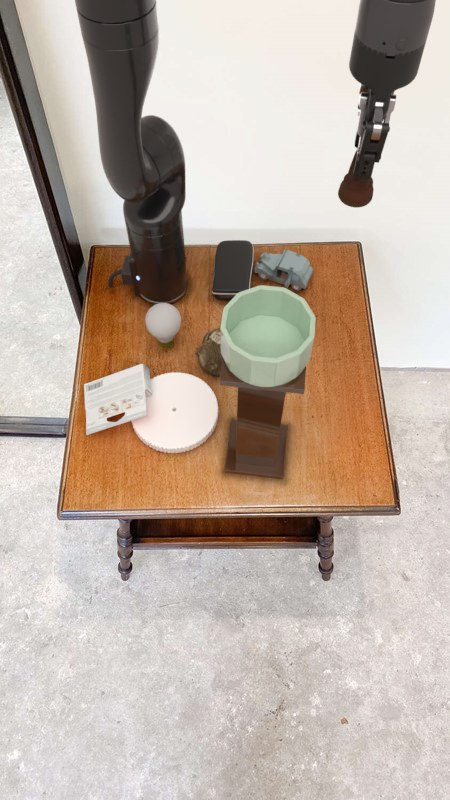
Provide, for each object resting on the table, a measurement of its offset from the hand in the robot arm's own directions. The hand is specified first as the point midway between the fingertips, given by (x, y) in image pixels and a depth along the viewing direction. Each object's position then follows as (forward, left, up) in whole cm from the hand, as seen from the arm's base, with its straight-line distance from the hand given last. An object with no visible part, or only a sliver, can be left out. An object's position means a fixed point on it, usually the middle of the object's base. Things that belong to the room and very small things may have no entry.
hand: (362, 161), depth 82 cm
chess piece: (0, 0, -6) cm, 6 cm away
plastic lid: (-23, -20, -36) cm, 48 cm away
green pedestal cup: (-10, -25, -36) cm, 45 cm away
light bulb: (-27, -7, -37) cm, 46 cm away
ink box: (-34, -15, -33) cm, 50 cm away
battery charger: (-17, +4, -35) cm, 39 cm away
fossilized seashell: (-17, -8, -37) cm, 41 cm away
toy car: (-9, +10, -37) cm, 39 cm away
